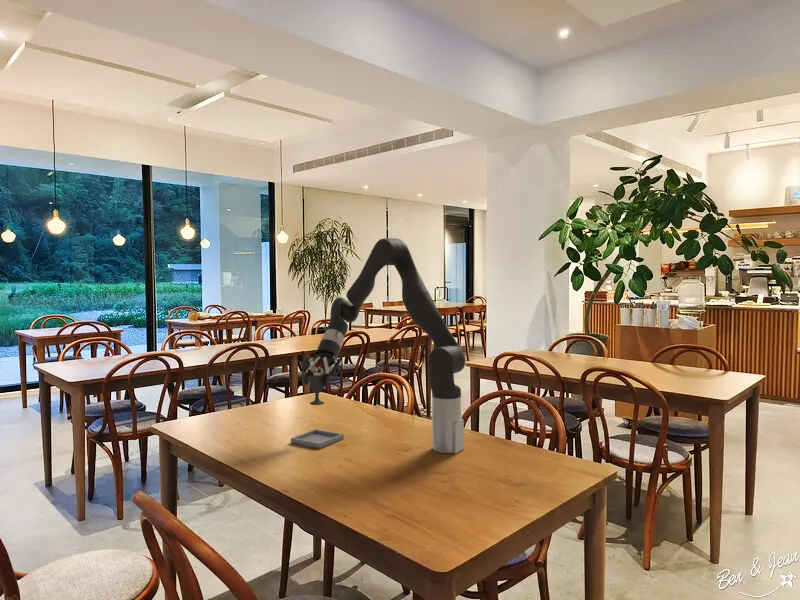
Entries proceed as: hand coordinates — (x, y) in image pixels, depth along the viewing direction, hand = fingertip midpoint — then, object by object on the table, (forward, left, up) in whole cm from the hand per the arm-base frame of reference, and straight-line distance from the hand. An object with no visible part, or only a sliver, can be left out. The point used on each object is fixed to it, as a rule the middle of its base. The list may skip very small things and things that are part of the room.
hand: (314, 384), depth 182 cm
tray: (0, -2, -20) cm, 20 cm away
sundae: (0, -2, -7) cm, 7 cm away
